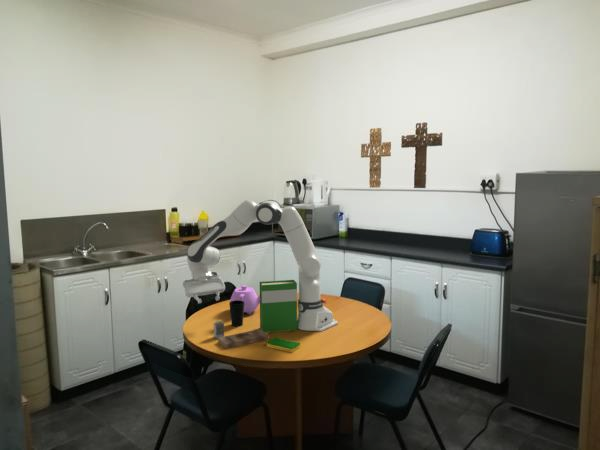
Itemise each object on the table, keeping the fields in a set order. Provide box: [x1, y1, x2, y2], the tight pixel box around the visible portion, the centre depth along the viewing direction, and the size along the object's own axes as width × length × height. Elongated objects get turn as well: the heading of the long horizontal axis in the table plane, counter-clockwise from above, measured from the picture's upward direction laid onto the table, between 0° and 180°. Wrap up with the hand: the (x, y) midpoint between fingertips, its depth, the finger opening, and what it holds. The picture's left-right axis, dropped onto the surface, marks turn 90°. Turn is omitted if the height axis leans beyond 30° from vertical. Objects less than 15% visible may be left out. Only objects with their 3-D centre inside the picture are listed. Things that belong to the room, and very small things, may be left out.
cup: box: [229, 300, 245, 328], centre depth 238 cm, size 8×8×12 cm
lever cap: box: [213, 319, 225, 340], centre depth 222 cm, size 4×3×8 cm
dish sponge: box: [266, 337, 301, 353], centre depth 210 cm, size 7×14×2 cm, turn 61°
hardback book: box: [259, 279, 298, 333], centre depth 232 cm, size 18×7×24 cm, turn 103°
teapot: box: [229, 284, 260, 315], centre depth 258 cm, size 20×20×15 cm
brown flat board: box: [217, 328, 270, 350], centre depth 217 cm, size 22×9×2 cm, turn 123°
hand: (209, 301), depth 229 cm, fingers open, 8 cm apart
